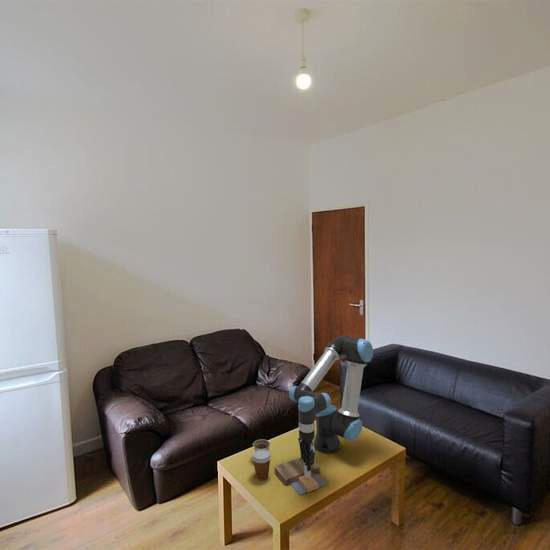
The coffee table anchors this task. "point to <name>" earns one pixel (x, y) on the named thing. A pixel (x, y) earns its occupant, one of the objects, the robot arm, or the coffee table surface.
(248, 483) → the coffee table surface
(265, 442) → the clear plastic cup
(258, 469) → the disposable coffee cup
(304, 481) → the orange brown flat block
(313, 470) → the brown flat slab
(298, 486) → the mat
